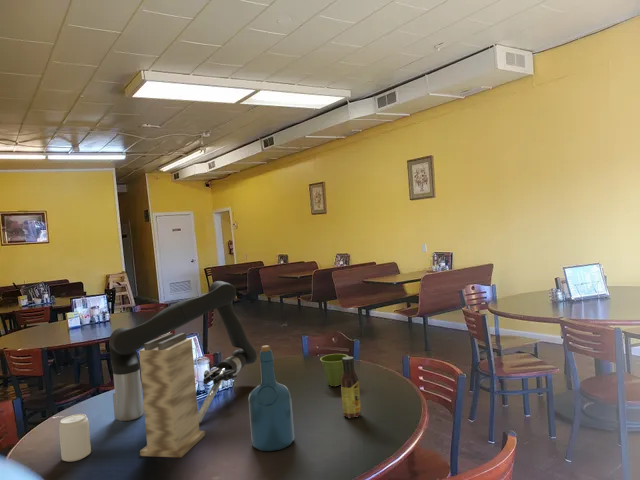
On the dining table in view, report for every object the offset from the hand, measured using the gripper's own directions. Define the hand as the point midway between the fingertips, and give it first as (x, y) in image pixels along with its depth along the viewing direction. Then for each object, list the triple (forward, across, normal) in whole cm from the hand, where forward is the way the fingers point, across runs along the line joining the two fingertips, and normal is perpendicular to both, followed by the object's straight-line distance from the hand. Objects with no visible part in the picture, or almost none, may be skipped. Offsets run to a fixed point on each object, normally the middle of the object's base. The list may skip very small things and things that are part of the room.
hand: (209, 381), depth 174 cm
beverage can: (+36, -28, +12) cm, 47 cm away
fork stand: (+26, 0, +12) cm, 29 cm away
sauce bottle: (+1, +53, +12) cm, 54 cm away
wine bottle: (+23, +32, +12) cm, 41 cm away
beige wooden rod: (+2, 0, +7) cm, 8 cm away
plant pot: (-31, +41, +12) cm, 53 cm away
